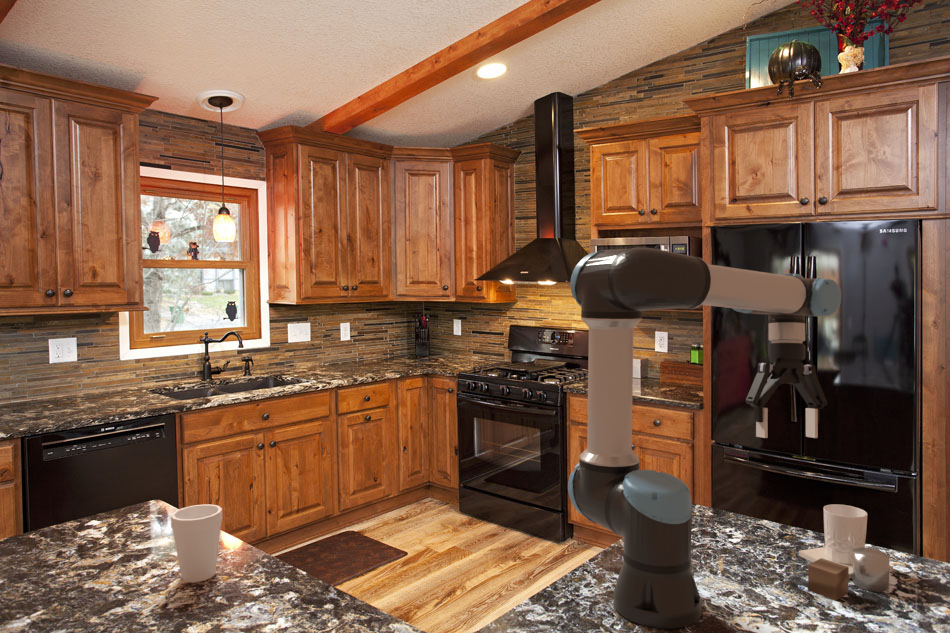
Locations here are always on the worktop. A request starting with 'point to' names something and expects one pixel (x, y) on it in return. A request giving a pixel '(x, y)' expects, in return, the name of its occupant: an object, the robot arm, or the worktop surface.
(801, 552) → the tile
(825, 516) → the white cup
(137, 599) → the worktop surface
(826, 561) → the walnut block
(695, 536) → the worktop surface
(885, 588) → the grey tin
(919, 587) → the worktop surface
